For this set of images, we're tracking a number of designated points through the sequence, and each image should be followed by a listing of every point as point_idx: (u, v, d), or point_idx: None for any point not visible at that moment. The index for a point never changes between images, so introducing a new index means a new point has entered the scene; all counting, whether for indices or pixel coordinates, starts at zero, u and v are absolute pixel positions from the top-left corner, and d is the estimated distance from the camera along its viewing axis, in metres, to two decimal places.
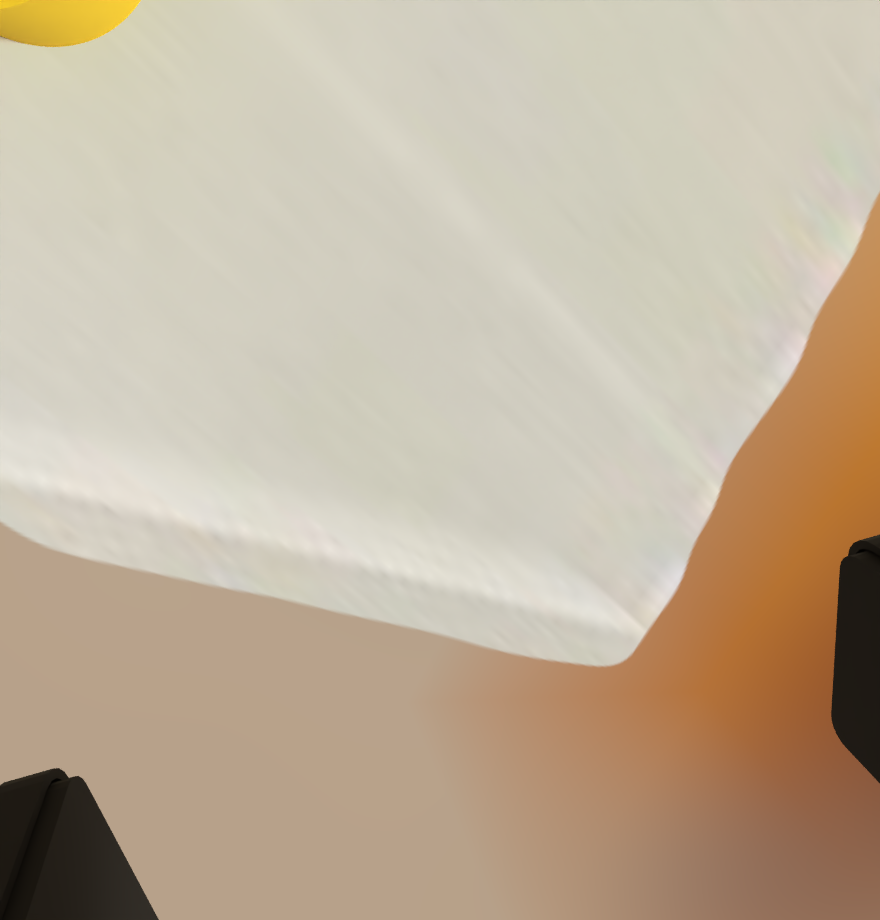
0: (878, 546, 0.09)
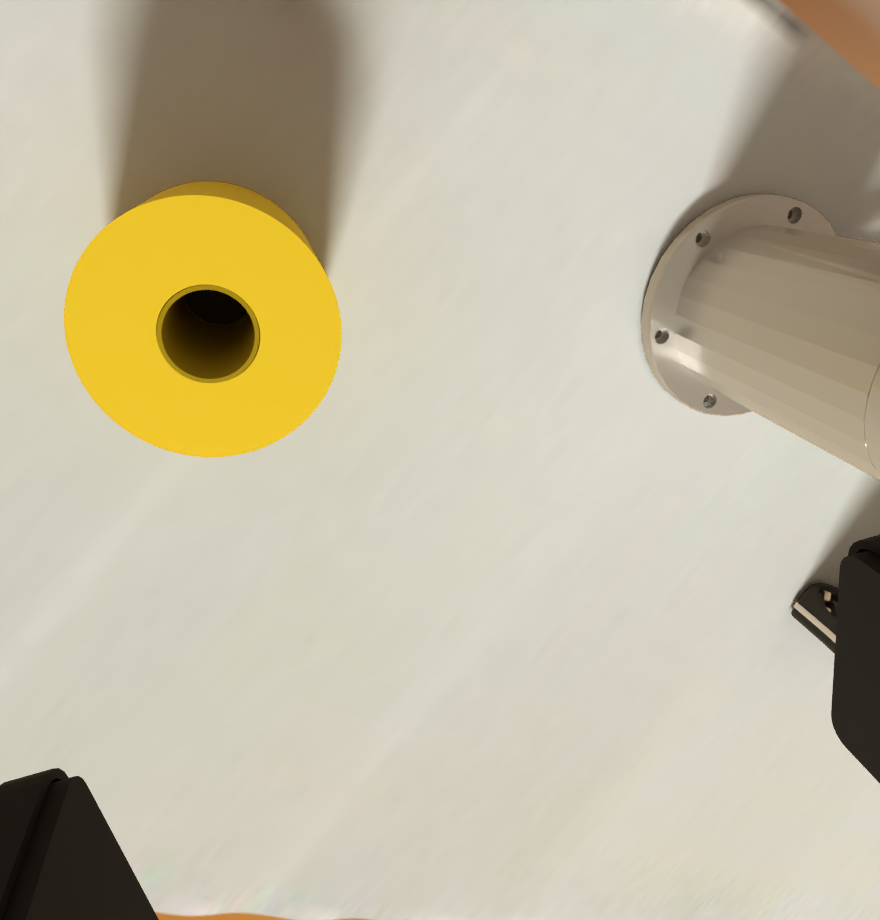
0: (878, 546, 0.09)
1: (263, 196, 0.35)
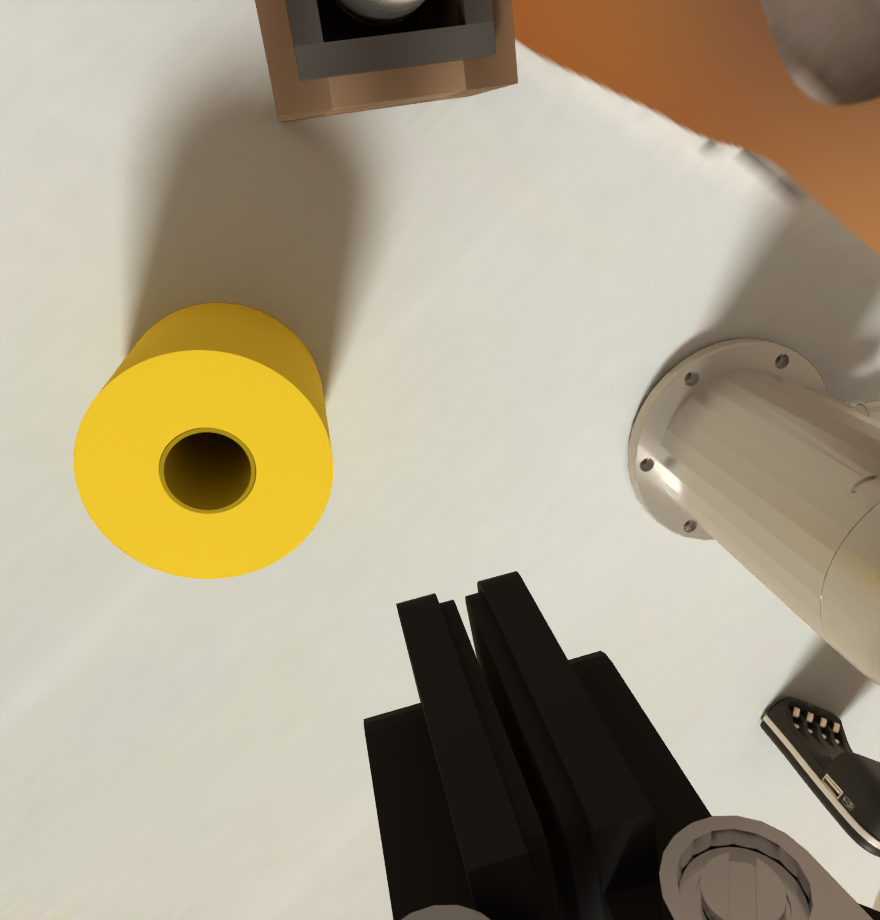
0: (484, 588, 0.09)
1: (274, 319, 0.37)
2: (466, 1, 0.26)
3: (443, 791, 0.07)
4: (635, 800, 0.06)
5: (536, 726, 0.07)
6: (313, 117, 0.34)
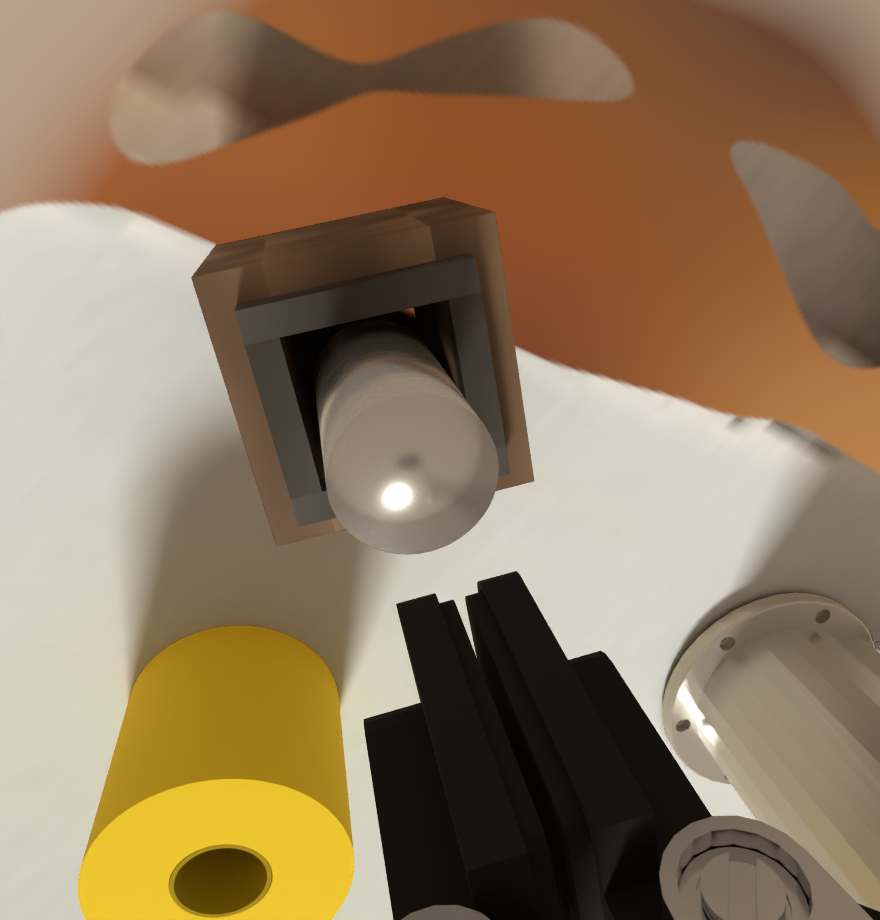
0: (484, 588, 0.09)
1: (283, 635, 0.35)
2: None
3: (443, 791, 0.07)
4: (634, 800, 0.06)
5: (536, 726, 0.07)
6: None
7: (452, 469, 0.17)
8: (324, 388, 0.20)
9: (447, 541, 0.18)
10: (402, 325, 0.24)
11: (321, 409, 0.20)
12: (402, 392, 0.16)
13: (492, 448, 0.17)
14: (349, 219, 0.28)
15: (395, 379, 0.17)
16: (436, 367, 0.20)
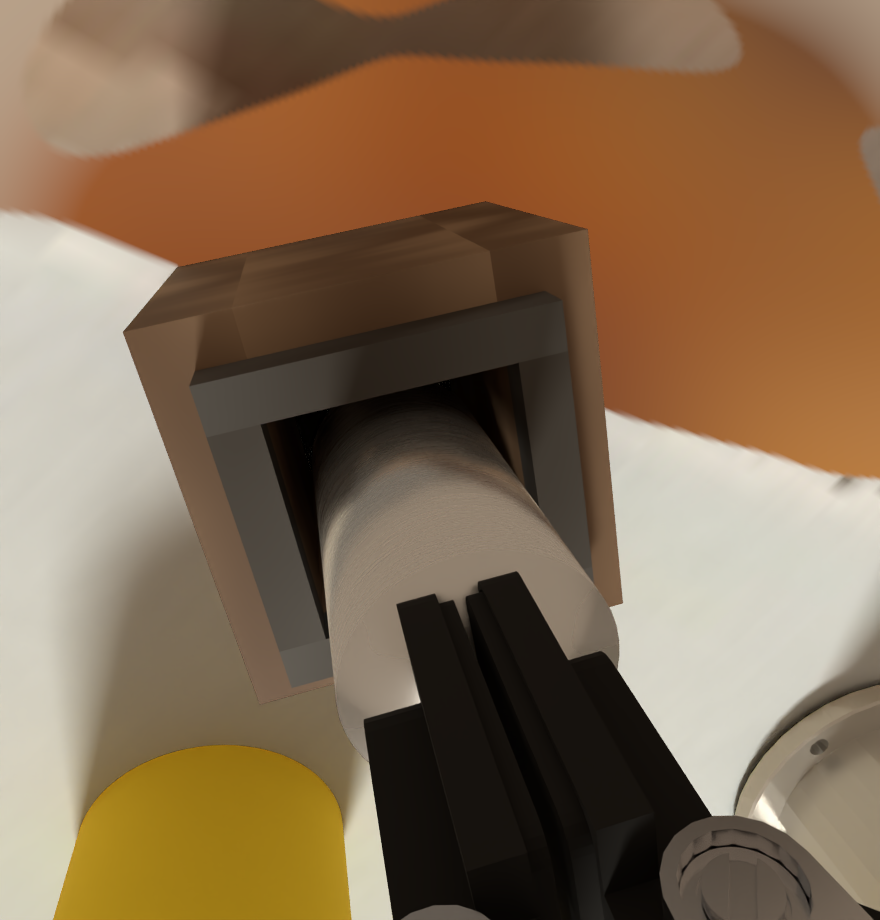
0: (484, 588, 0.09)
1: (273, 755, 0.28)
2: None
3: (443, 791, 0.07)
4: (635, 800, 0.06)
5: (536, 726, 0.07)
6: None
7: None
8: (328, 494, 0.14)
9: None
10: (436, 383, 0.17)
11: (324, 531, 0.13)
12: (467, 547, 0.10)
13: (611, 627, 0.10)
14: (359, 232, 0.21)
15: (449, 510, 0.11)
16: (501, 468, 0.13)
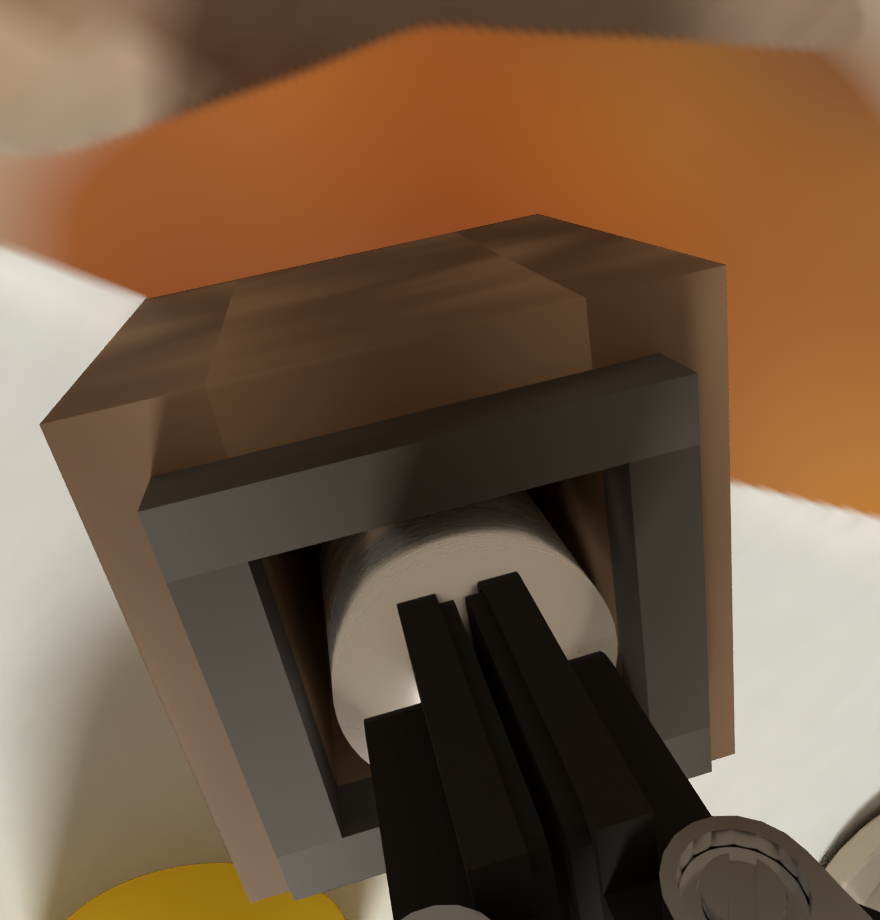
0: (484, 588, 0.09)
1: None
2: (655, 711, 0.11)
3: (443, 791, 0.07)
4: (634, 800, 0.06)
5: (536, 726, 0.07)
6: None
7: None
8: None
9: None
10: None
11: None
12: (464, 546, 0.10)
13: (609, 626, 0.10)
14: (380, 254, 0.16)
15: None
16: None
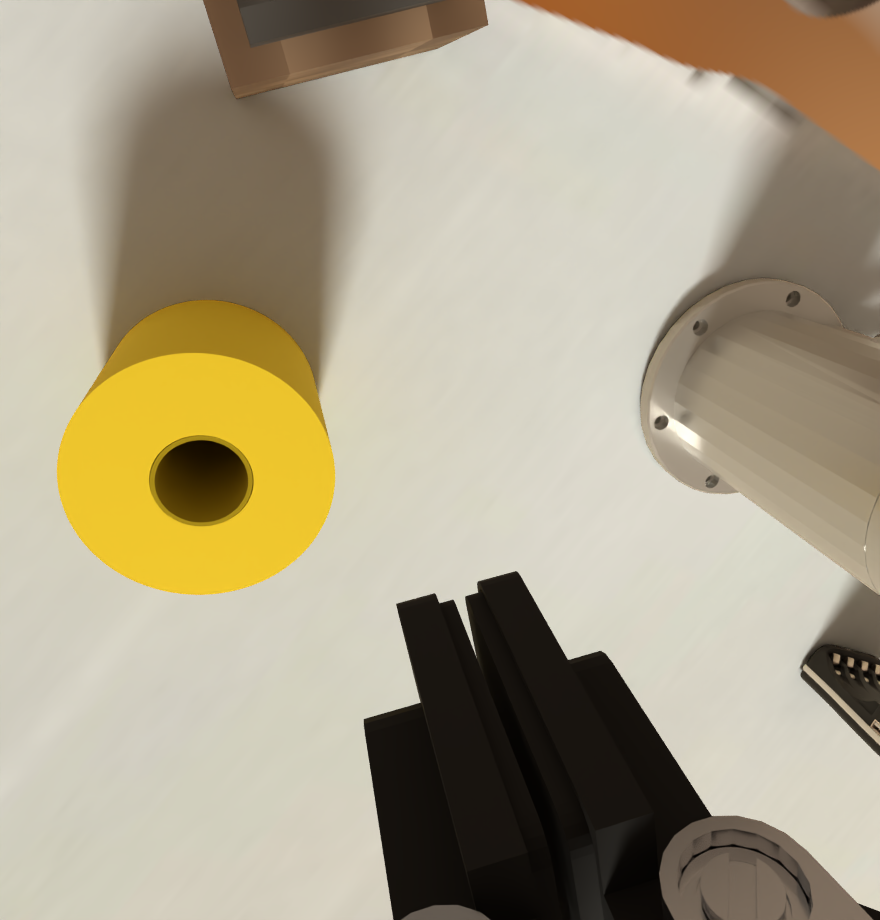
0: (484, 588, 0.09)
1: (255, 311, 0.35)
2: None
3: (443, 791, 0.07)
4: (634, 800, 0.06)
5: (536, 726, 0.07)
6: None
7: None
8: None
9: None
10: None
11: None
12: None
13: None
14: None
15: None
16: None
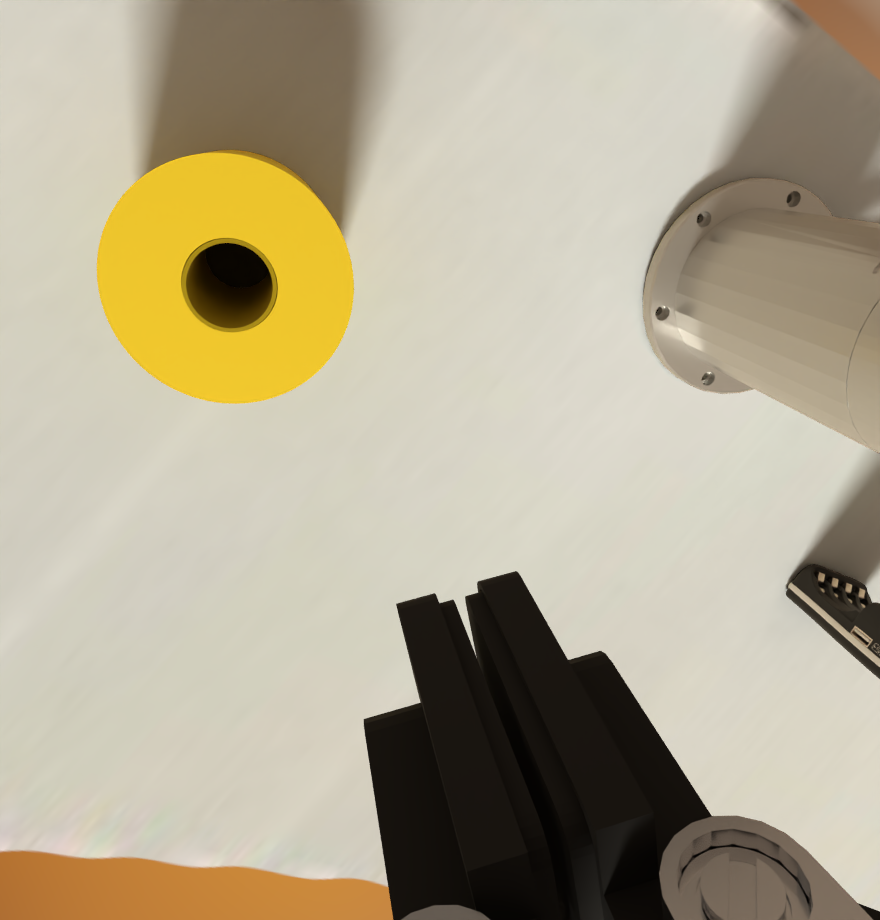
0: (484, 588, 0.09)
1: None
2: None
3: (443, 791, 0.07)
4: (635, 800, 0.06)
5: (536, 726, 0.07)
6: None
7: None
8: None
9: None
10: None
11: None
12: None
13: None
14: None
15: None
16: None
